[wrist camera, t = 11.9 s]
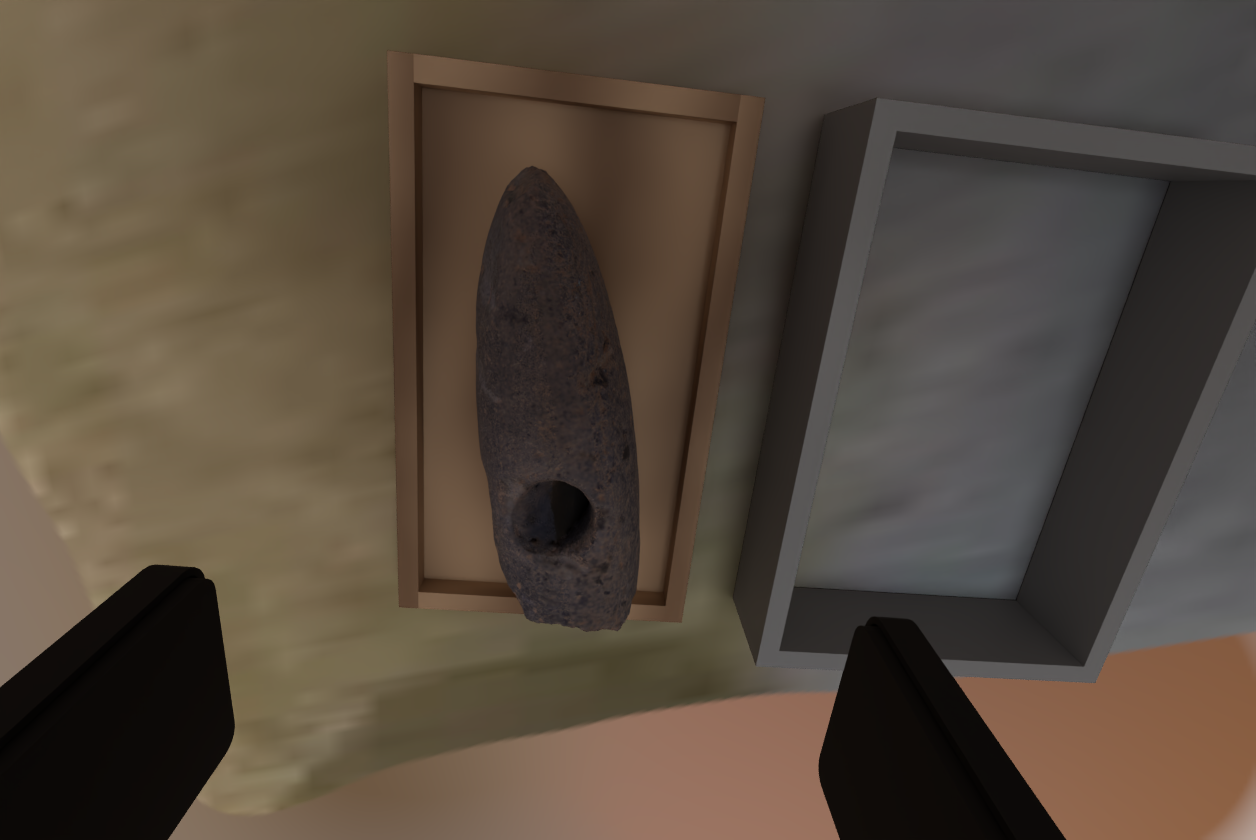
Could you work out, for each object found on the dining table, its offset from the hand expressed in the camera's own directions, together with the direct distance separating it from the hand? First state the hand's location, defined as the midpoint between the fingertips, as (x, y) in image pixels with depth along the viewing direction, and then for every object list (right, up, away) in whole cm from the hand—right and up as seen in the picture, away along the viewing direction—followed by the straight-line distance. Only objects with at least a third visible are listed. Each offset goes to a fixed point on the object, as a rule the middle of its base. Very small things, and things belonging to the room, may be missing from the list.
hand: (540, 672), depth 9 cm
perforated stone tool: (-1, +6, +15) cm, 16 cm away
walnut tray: (-1, +6, +16) cm, 17 cm away
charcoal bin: (+15, +5, +17) cm, 23 cm away
